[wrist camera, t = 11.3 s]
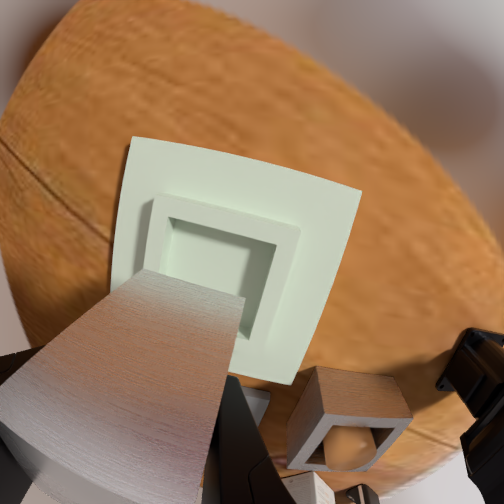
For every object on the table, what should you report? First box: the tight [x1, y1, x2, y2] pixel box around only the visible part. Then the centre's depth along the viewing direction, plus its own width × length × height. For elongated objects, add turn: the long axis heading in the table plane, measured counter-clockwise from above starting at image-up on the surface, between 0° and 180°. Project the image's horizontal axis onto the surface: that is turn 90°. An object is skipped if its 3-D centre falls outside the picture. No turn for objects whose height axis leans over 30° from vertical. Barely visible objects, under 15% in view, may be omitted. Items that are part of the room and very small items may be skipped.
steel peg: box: [0, 268, 246, 504], centre depth 7 cm, size 4×4×8 cm
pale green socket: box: [110, 136, 362, 385], centre depth 17 cm, size 14×14×2 cm
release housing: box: [286, 366, 413, 472], centre depth 18 cm, size 7×7×5 cm
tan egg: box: [323, 425, 377, 471], centre depth 17 cm, size 4×4×5 cm
